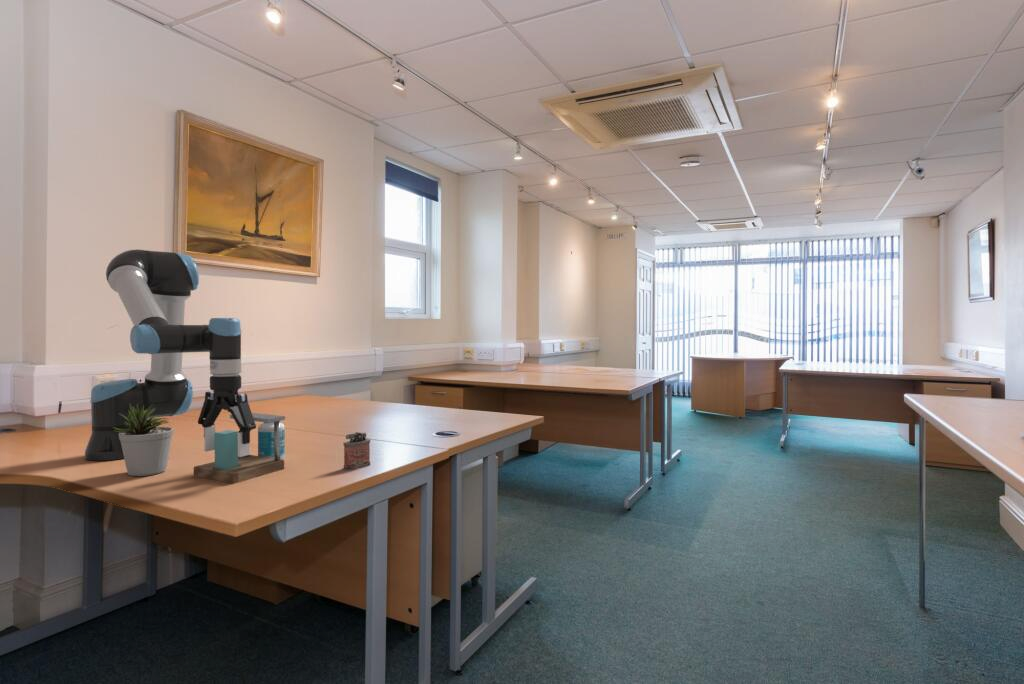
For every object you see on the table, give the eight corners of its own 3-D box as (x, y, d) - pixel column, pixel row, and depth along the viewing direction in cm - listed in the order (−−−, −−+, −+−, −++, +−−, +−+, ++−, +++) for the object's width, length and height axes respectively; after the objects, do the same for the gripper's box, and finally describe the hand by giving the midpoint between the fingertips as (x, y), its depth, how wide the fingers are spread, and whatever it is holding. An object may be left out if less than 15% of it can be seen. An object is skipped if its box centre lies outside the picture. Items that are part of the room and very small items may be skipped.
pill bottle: (274, 464, 157) (274, 418, 157) (252, 463, 159) (251, 417, 159) (290, 458, 165) (289, 414, 164) (268, 457, 166) (268, 413, 166)
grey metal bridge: (230, 466, 155) (229, 414, 155) (247, 462, 160) (246, 412, 160) (269, 473, 148) (268, 419, 148) (285, 468, 153) (285, 416, 153)
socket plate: (193, 475, 145) (193, 466, 145) (245, 462, 160) (245, 454, 159) (233, 483, 138) (233, 474, 138) (284, 468, 153) (284, 460, 153)
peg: (214, 476, 144) (214, 432, 144) (228, 473, 148) (227, 430, 148) (225, 478, 143) (224, 434, 142) (238, 475, 146) (237, 431, 146)
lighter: (366, 463, 159) (366, 429, 159) (372, 465, 157) (372, 431, 156) (341, 468, 154) (341, 433, 153) (347, 470, 151) (346, 435, 151)
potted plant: (113, 471, 149) (112, 400, 148) (171, 464, 157) (170, 396, 157) (114, 482, 139) (112, 405, 138) (176, 473, 147) (175, 401, 147)
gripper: (182, 374, 146) (183, 451, 147) (245, 378, 136) (246, 461, 136) (208, 372, 153) (209, 445, 154) (269, 375, 142) (270, 454, 143)
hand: (226, 453), depth 145 cm, fingers open, 13 cm apart
